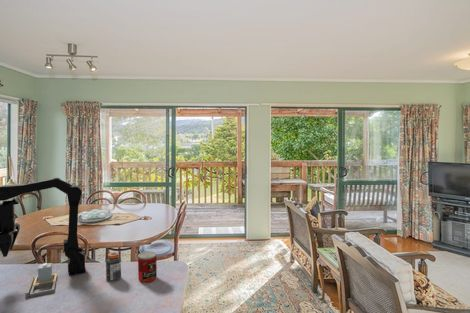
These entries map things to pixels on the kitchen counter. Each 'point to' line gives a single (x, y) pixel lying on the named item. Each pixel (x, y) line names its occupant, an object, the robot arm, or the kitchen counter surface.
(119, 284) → the kitchen counter surface
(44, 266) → the blue-grey box
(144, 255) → the canned food
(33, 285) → the cubby shelf with drawer
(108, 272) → the pill bottle
